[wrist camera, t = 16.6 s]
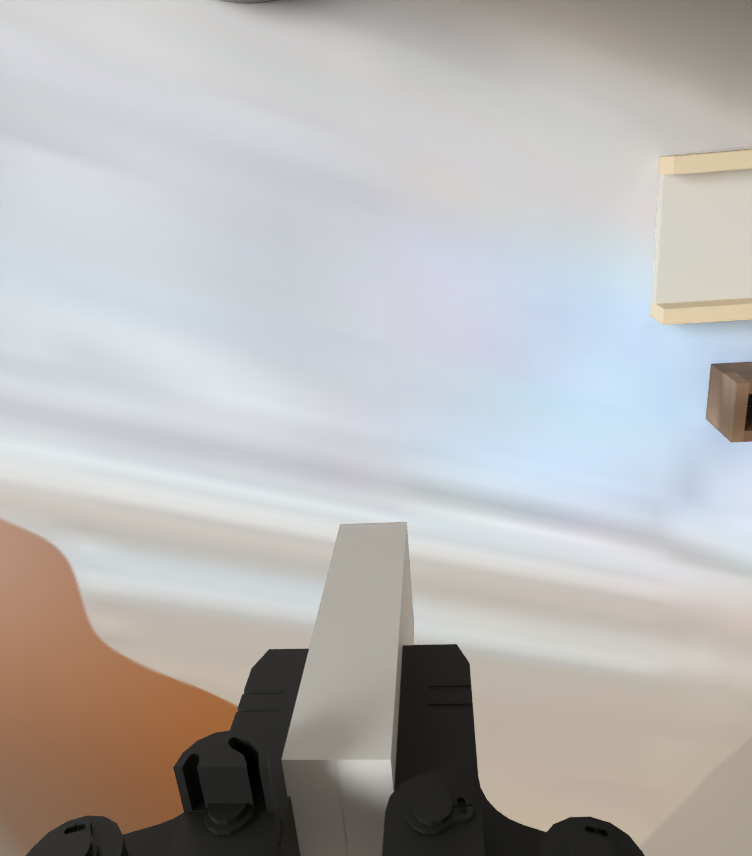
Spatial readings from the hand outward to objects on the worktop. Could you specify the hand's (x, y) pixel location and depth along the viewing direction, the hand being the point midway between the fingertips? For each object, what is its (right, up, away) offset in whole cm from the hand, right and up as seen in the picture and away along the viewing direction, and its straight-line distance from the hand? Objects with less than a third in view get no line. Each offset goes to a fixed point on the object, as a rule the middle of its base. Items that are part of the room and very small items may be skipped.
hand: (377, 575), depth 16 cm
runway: (+20, +13, +19) cm, 31 cm away
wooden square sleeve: (+20, +5, +22) cm, 31 cm away
